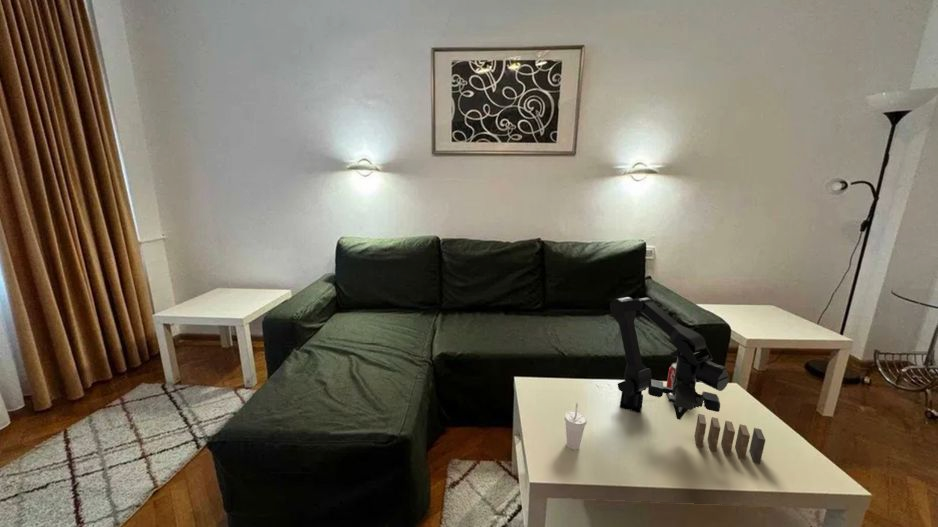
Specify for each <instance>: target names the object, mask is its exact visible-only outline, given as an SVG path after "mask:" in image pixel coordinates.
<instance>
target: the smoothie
mask: <svg viewBox="0 0 938 527" xmlns="http://www.w3.org/2000/svg"><path fill="white" fill-rule="evenodd" d="M578 405H579V403H578V402H575V410H570V411H566V413H564V421H565V431H566V432H565V435H566V445H567V448H569V449H571V450H574V451H575V450H579V449H580V446H581V442H582V439H583V438H582V437H583V434H584V430H585V426H586V425H587V423H588V419H587V416H586V415H585V414H584V413H582V412H580V411H578Z"/></svg>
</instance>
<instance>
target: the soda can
mask: <svg viewBox="0 0 938 527" xmlns="http://www.w3.org/2000/svg"><path fill="white" fill-rule="evenodd" d="M676 363H677V362H673V363H671V366H669V368H668V369H669V370H668V374H667V382H666V386H665V387H668V388H673V382H674V375H675V369H676Z"/></svg>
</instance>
